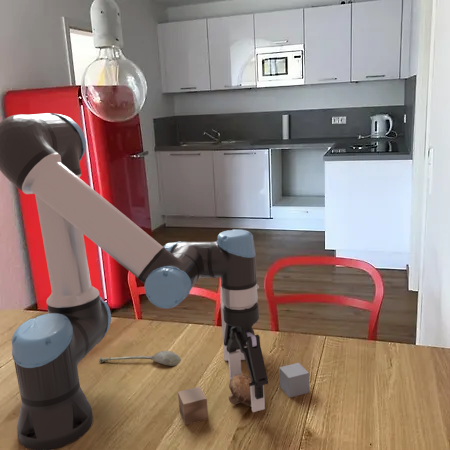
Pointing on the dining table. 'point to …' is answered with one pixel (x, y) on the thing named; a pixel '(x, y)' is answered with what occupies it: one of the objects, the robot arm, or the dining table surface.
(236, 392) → the mushroom
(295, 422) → the dining table surface
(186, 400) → the walnut block
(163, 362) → the soupspoon
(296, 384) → the slate-grey block
